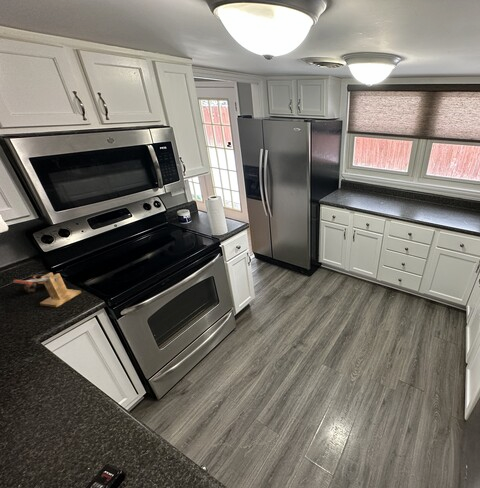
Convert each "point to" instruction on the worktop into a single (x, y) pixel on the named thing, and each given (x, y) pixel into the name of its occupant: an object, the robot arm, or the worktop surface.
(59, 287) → the bracket
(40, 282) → the pottery mug
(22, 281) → the lever
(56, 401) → the worktop surface
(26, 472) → the worktop surface
